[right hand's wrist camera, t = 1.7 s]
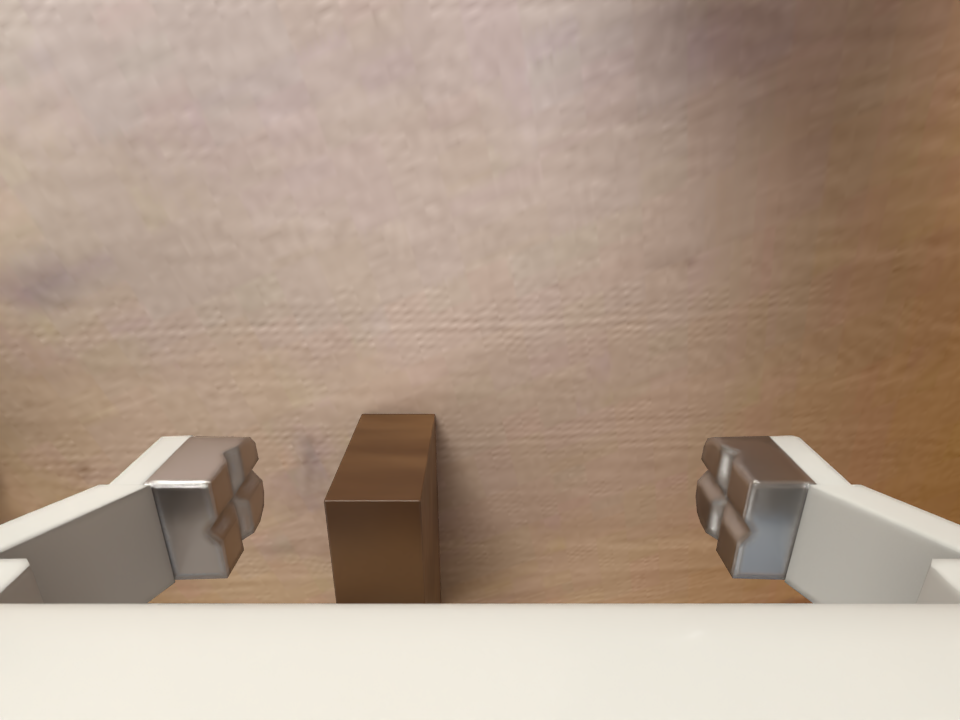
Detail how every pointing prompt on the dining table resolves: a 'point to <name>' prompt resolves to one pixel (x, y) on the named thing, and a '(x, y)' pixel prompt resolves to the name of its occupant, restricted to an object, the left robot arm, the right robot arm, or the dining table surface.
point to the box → (386, 513)
